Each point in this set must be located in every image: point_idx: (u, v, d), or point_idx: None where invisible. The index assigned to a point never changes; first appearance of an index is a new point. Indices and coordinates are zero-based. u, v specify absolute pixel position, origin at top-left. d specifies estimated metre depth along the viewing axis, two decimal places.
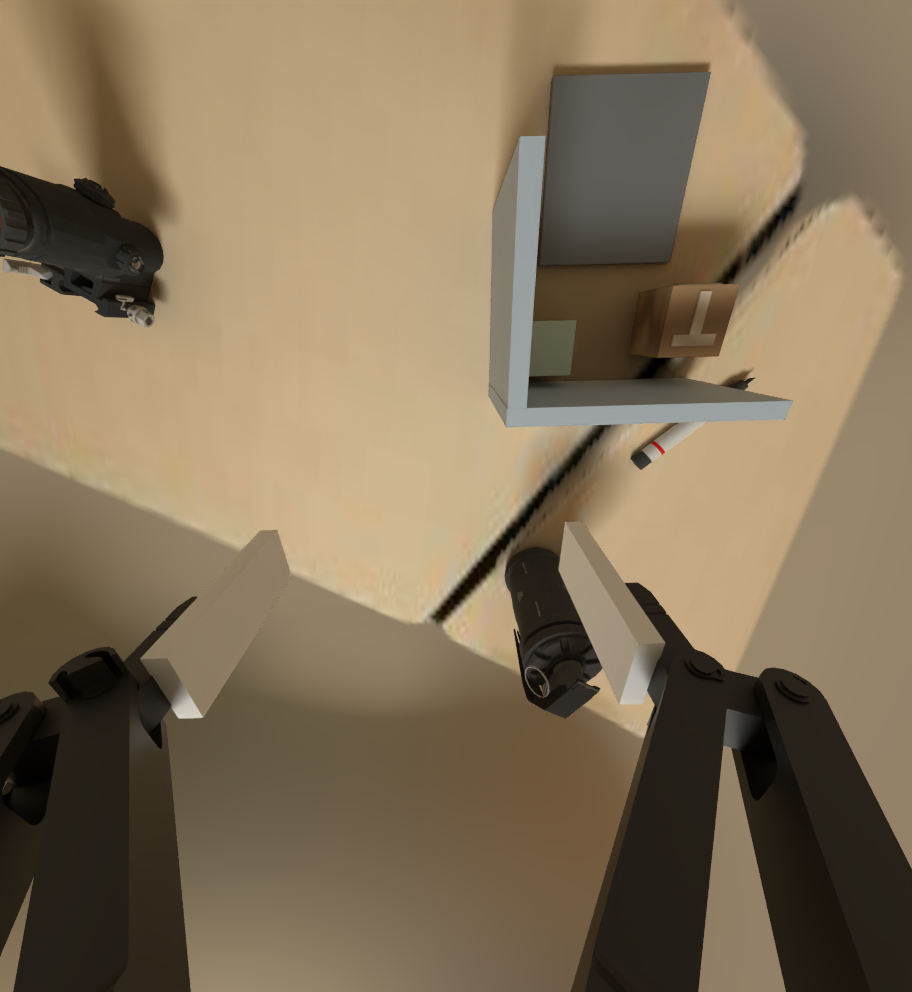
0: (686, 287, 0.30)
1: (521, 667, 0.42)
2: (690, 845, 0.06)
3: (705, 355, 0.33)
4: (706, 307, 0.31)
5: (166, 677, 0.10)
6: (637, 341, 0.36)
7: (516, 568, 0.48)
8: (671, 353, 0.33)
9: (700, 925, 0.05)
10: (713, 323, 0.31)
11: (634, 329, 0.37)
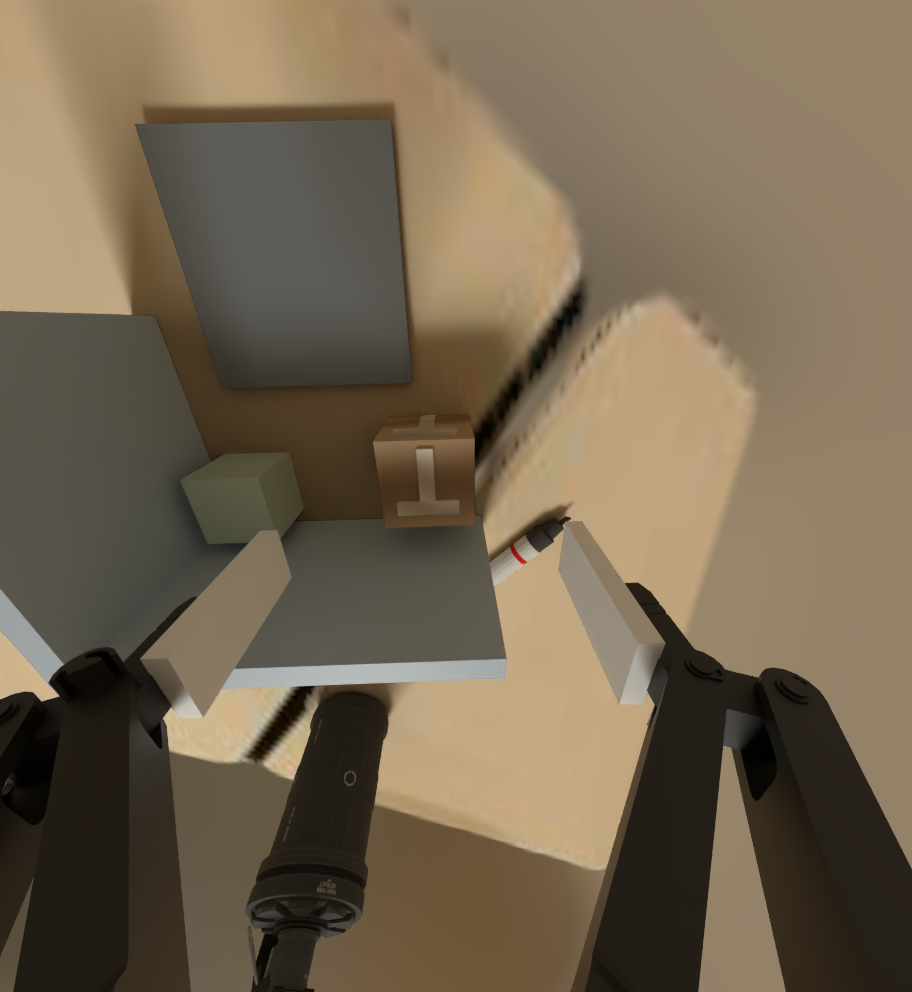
0: (393, 443, 0.20)
1: None
2: (689, 845, 0.06)
3: (455, 524, 0.23)
4: (432, 469, 0.20)
5: (166, 678, 0.09)
6: None
7: (314, 726, 0.38)
8: (403, 522, 0.22)
9: (700, 925, 0.05)
10: (452, 487, 0.21)
11: None
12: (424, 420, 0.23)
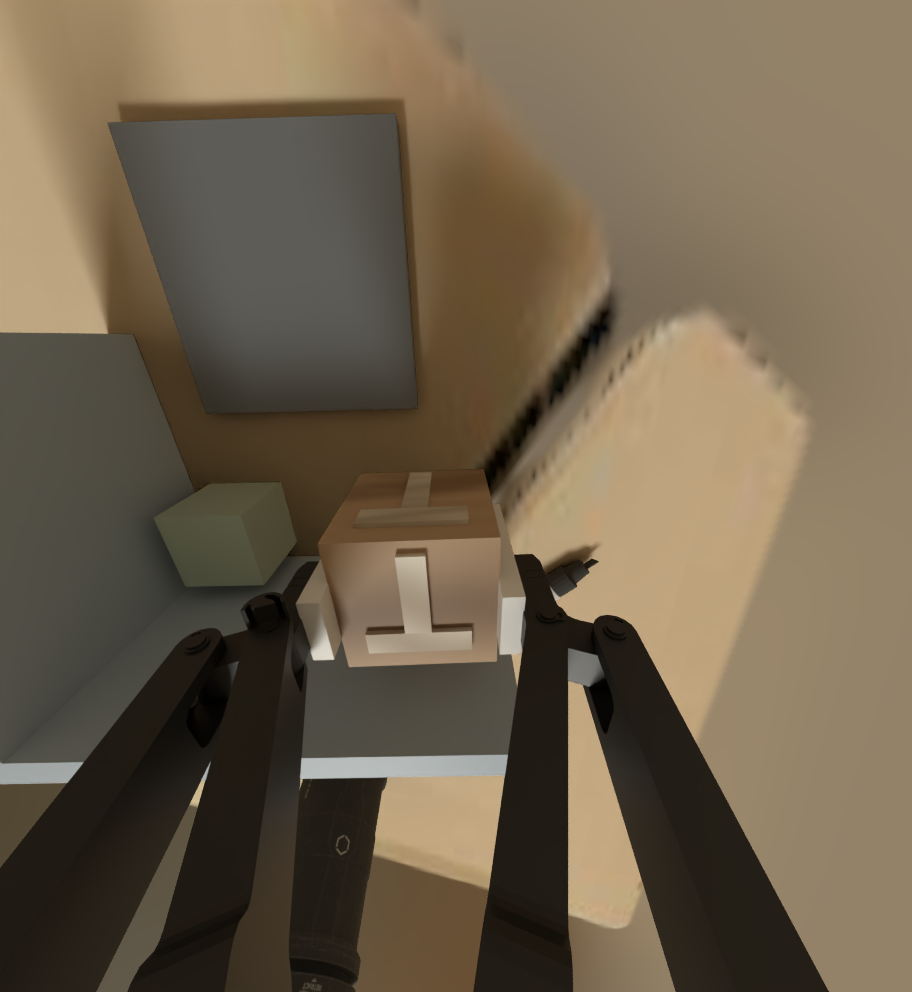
0: (355, 546, 0.11)
1: None
2: (552, 764, 0.07)
3: (464, 660, 0.14)
4: (424, 587, 0.12)
5: (313, 621, 0.11)
6: None
7: None
8: (379, 659, 0.13)
9: (565, 825, 0.06)
10: (460, 610, 0.12)
11: None
12: (413, 486, 0.14)
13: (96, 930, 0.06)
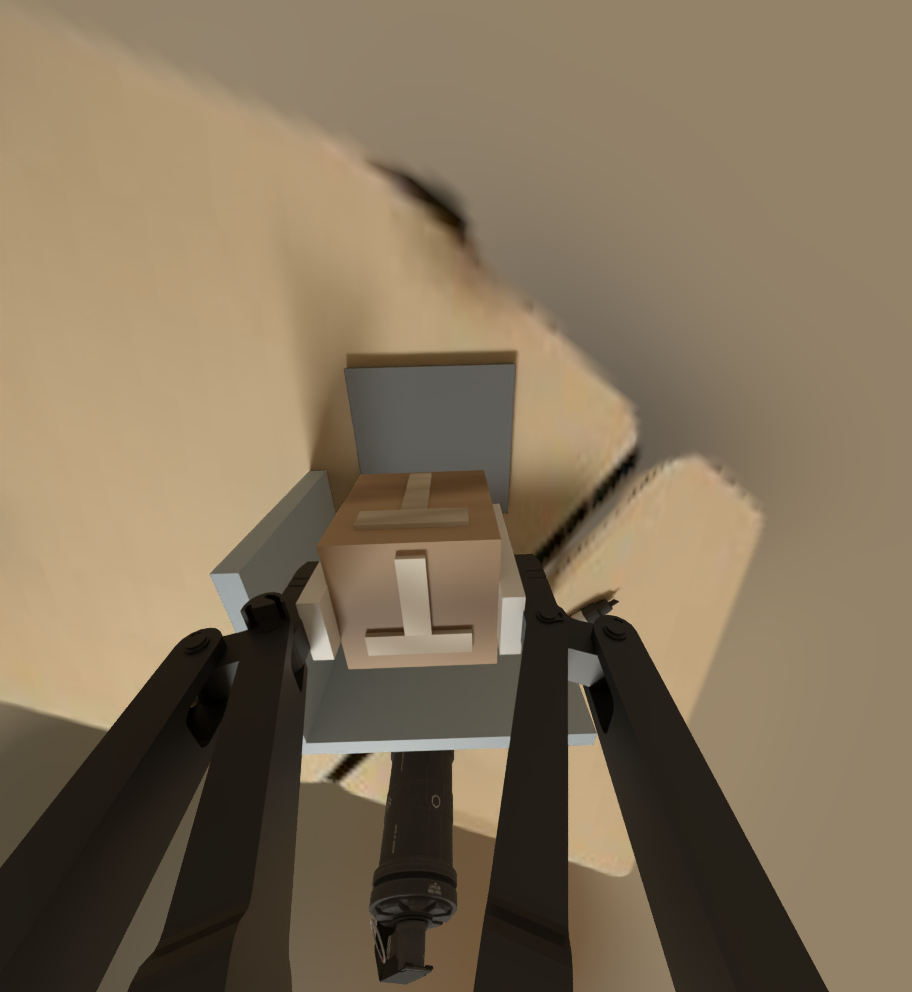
0: (354, 548, 0.11)
1: None
2: (552, 764, 0.07)
3: (464, 662, 0.14)
4: (424, 590, 0.12)
5: (313, 621, 0.11)
6: None
7: (397, 755, 0.46)
8: (379, 661, 0.13)
9: (565, 825, 0.06)
10: (460, 612, 0.12)
11: None
12: (413, 487, 0.14)
13: (96, 930, 0.06)
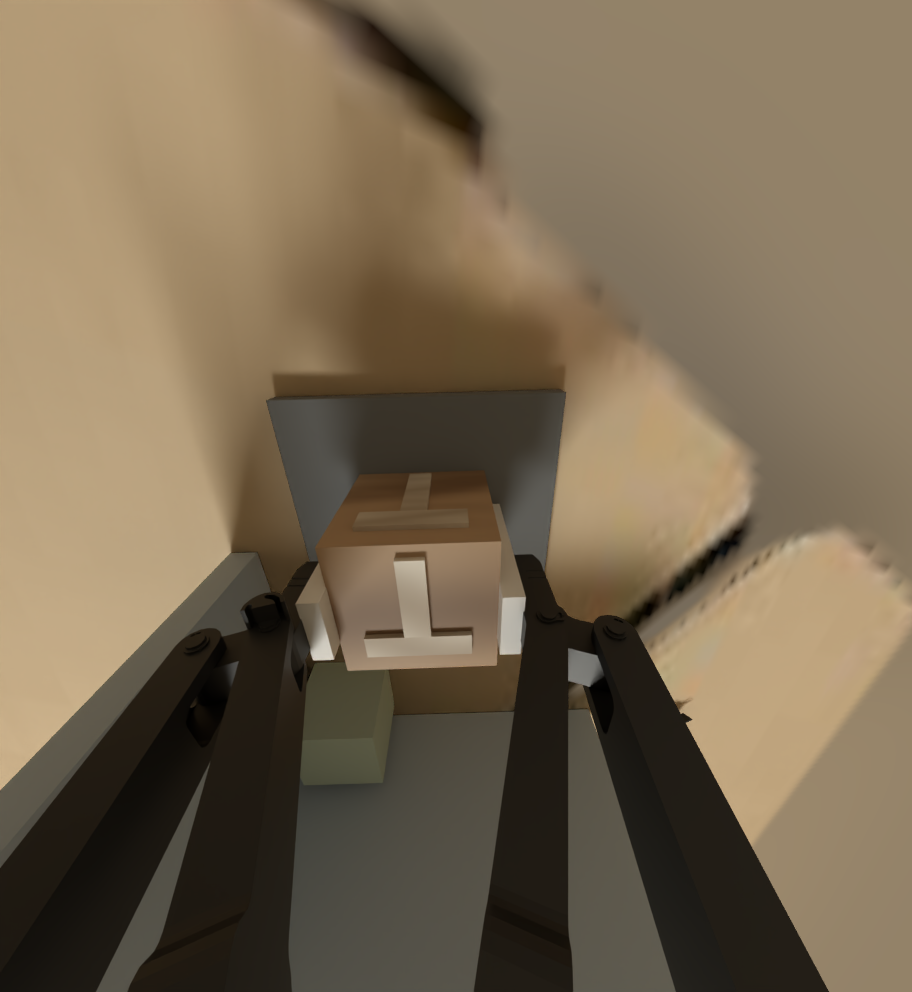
0: (353, 550, 0.11)
1: None
2: (552, 764, 0.07)
3: (464, 664, 0.13)
4: (423, 591, 0.11)
5: (312, 621, 0.11)
6: None
7: None
8: (378, 663, 0.13)
9: (565, 825, 0.06)
10: (459, 614, 0.12)
11: None
12: (413, 488, 0.14)
13: (95, 930, 0.06)
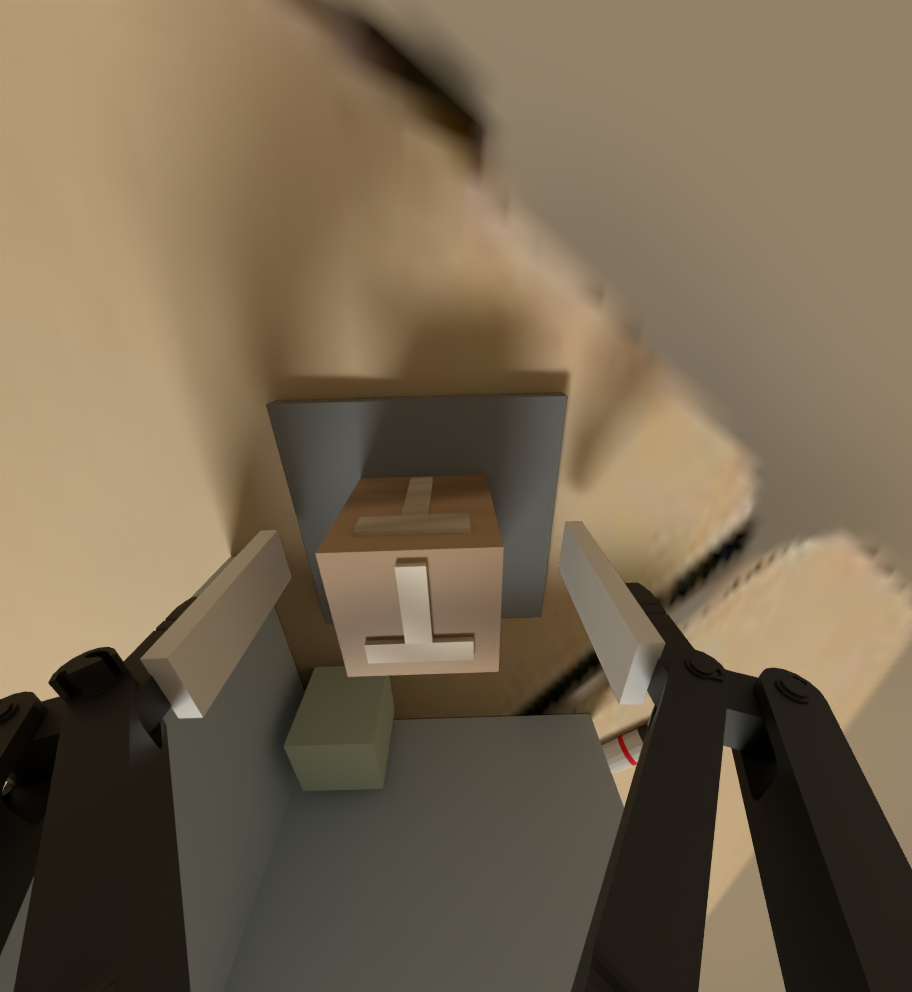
0: (354, 556, 0.11)
1: None
2: (689, 845, 0.06)
3: (465, 670, 0.13)
4: (424, 597, 0.11)
5: (166, 677, 0.10)
6: None
7: None
8: (378, 669, 0.13)
9: (700, 925, 0.05)
10: (461, 620, 0.12)
11: None
12: (414, 492, 0.14)
13: None
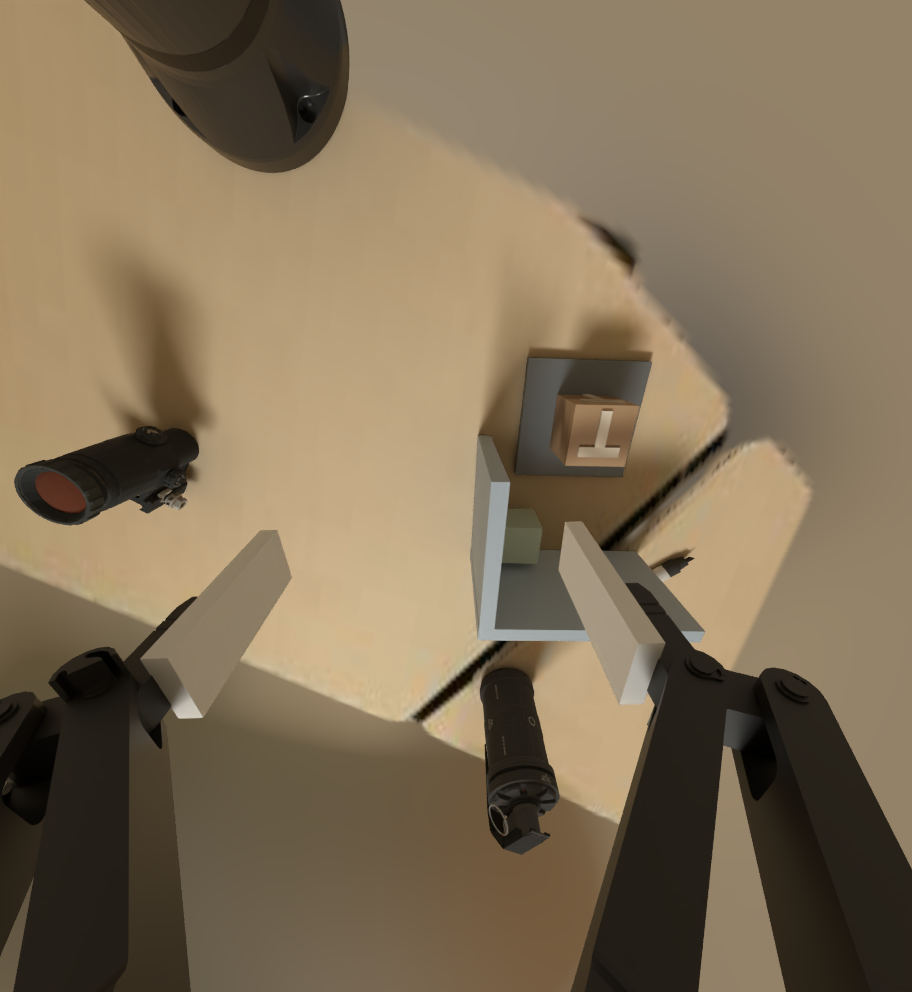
0: (588, 406, 0.31)
1: (488, 791, 0.47)
2: (690, 844, 0.06)
3: (611, 465, 0.34)
4: (608, 425, 0.32)
5: (166, 677, 0.10)
6: (554, 440, 0.37)
7: (489, 690, 0.54)
8: (578, 462, 0.33)
9: (700, 925, 0.05)
10: (617, 438, 0.32)
11: (553, 427, 0.38)
12: (590, 396, 0.34)
13: None
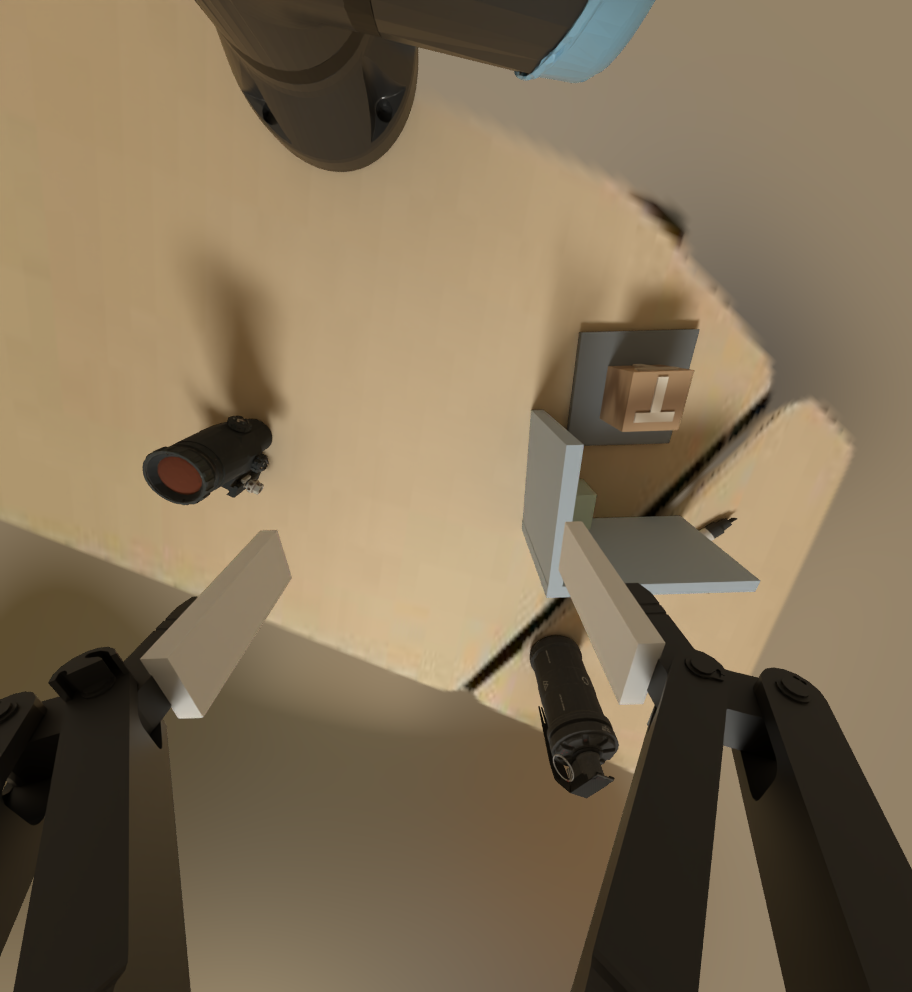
0: (645, 373, 0.33)
1: (547, 746, 0.51)
2: (690, 845, 0.06)
3: (666, 429, 0.36)
4: (664, 390, 0.34)
5: (166, 677, 0.10)
6: (606, 410, 0.39)
7: (540, 655, 0.57)
8: (634, 428, 0.36)
9: (700, 925, 0.05)
10: (671, 402, 0.34)
11: (604, 398, 0.40)
12: (642, 365, 0.36)
13: None
